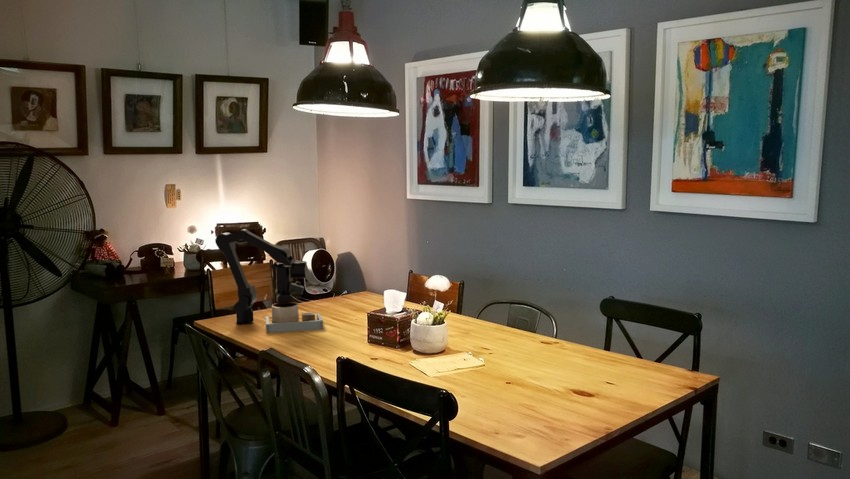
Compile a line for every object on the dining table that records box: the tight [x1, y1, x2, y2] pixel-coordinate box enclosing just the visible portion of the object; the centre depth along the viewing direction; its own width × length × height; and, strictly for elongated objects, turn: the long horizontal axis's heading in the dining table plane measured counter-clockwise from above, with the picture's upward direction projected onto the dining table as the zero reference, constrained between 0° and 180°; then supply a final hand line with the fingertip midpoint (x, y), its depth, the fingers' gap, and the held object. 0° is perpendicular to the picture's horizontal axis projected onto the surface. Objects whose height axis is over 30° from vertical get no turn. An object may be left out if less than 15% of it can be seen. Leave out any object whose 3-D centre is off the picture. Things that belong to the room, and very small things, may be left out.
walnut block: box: [301, 311, 316, 321], centre depth 281 cm, size 5×5×5 cm
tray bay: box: [265, 312, 324, 334], centre depth 279 cm, size 22×14×4 cm, turn 104°
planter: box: [271, 301, 300, 323], centre depth 277 cm, size 11×11×10 cm
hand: (284, 314), depth 286 cm, fingers closed
